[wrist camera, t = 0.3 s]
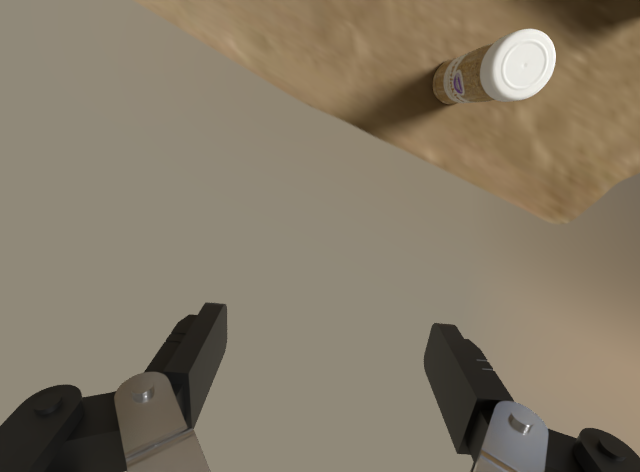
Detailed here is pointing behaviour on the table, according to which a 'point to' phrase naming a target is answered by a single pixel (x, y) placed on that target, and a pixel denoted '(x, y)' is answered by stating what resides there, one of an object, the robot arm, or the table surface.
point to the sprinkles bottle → (498, 70)
